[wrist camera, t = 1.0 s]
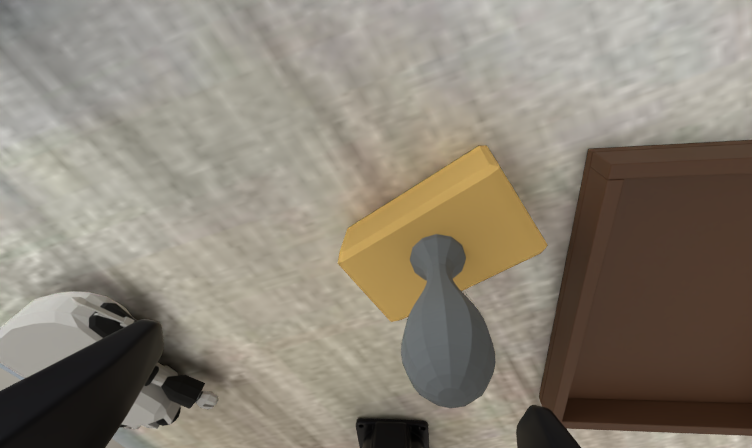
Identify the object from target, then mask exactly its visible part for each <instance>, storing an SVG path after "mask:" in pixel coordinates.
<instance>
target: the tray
mask: <svg viewBox="0 0 752 448" xmlns="http://www.w3.org/2000/svg"><path fill="white" fill-rule="evenodd" d="M539 398H540V401H541V404H542V407H546V408H549V409H550V410H551V411H552V412H553V413H554V414H555V415H556V417H557V418H558V419H559V420H560V422H561V423H562V424H563V425H564V427H565V428H569V429H595V430H620V431H645V432H670V433H696V434H721V435H746V436H752V140H743V141H725V142H706V143H688V144H669V145H651V146H633V147H614V148H596V149H588V154H587V159H586V164H585V169H584V174H583V179H582V184H581V189H580V194H579V199H578V204H577V209H576V214H575V219H574V224H573V229H572V234H571V239H570V244H569V249H568V254H567V259H566V264H565V269H564V274H563V279H562V284H561V289H560V294H559V299H558V304H557V309H556V314H555V319H554V324H553V329H552V334H551V339H550V344H549V349H548V354H547V359H546V364H545V369H544V375H543V380H542V385H541V390H540V395H539Z"/></svg>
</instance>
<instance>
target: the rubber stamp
mask: <svg viewBox="0 0 752 448" xmlns="http://www.w3.org/2000/svg"><path fill="white" fill-rule="evenodd" d="M547 246H548V245H547V243H546V242H545V240H544V238H543V237H542V235H541V233H540V232H539V230H538V228H537V227H536V225H535V223H534V222H533V220H532V219H531V217H530V215H529V214H528V212H527V210H526V209H525V207H524V205H523V204H522V202H521V200H520V199H519V197H518V196H517V194H516V192H515V191H514V189H513V187H512V186H511V184H510V182H509V181H508V179H507V178H506V176H505V174H504V173H503V171H502V169H501V168H500V166H499V164H498V163H497V161H496V160H495V158H494V156H493V155H492V153H491V152H490V150H489V148H488V147H487V145H485V146H478V147H476V148H475V149H473V150H471V151H470V152H468V153H467V154H465V155H464V156H462V157H460V158H459V159H457V160H456V161H454V162H452V163H451V164H449V165H448V166H446V167H444V168H443V169H441V170H440V171H438V172H436V173H435V174H433V175H432V176H430V177H429V178H427V179H425V180H424V181H422V182H421V183H419V184H417V185H416V186H414V187H413V188H411V189H409V190H408V191H406V192H405V193H403V194H402V195H400V196H398V197H397V198H395V199H394V200H392V201H390V202H389V203H387V204H386V205H384V206H382V207H381V208H379V209H378V210H376V211H375V212H373V213H371V214H370V215H368V216H367V217H365V218H363V219H362V220H360V221H359V222H357V223H355V224H354V225H352V226H351V227H349V228H348V229H347V232H346V235H345V238H344V241H343V244H342V246H341V249H340V253H339V259H338V264H339V265H340V266H341V268H342V269H343V270H344V271H345V272H346V273H347V274H348V275H349V276H350V277H351V279H352V280H353V281H354V282H355V283H356V284H357V285H358V286H359V287H360V288H361V290H362V291H363V292H364V293H365V294H366V295H367V296H368V297H369V298H370V299H371V301H372V302H373V303H374V304H375V305H376V306H377V307H378V308H379V309H380V310H381V312H382V313H383V314H384V315H385V316H386V317H387V318H388V319H389V320H390V321H391V322H393V321H398V320H402V319H404V318H406V317H408V316H409V317H408V319H407V323H406V327H405V331H404V335H403V340H402V344H401V356H402V362H403V366H404V368H405V370H406V373H407V375H408V377H409V379H410V381H411V383H412V385H413V387H414V388H415V389H416V391H417V392H418V393H419V394H420V395H421V396H423V397H424V398H426V399H428V400H429V401H431V402H432V403H434V404H436V405H438V406H442V407H448V408H456V407H463V406H466V405H467V404H469V403H471V402H472V401H474V400H475V399H477V398H479V397H480V396H482V394H483V393H484V391H485V390H486V388H487V386H488V384H489V382H490V379H491V377H492V375H493V372H494V367H495V351H494V347H493V343H492V340H491V337H490V334H489V331H488V328H487V325H486V323H485V321H484V319H483V317H482V315H481V314H480V312H479V311H478V309H477V308H476V307H475V306H474V305H473V303H472V302H471V301H470V300H469V299H468V298H467V297H466V296H465V295H464V294H463V293H462V292H461V291H463V290H465V289H467V288H469V287H471V286H473V285H475V284H477V283H479V282H481V281H484V280H486V279H488V278H490V277H492V276H494V275H496V274H498V273H500V272H502V271H504V270H507V269H509V268H511V267H513V266H515V265H517V264H519V263H521V262H523V261H525V260H527V259H530V258H532V257H534V256H536V255H538V254H540V253H541V252H542V251H543V250H544V249H545V248H546V247H547Z"/></svg>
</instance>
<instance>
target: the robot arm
mask: <svg viewBox="0 0 752 448" xmlns="http://www.w3.org/2000/svg"><path fill="white" fill-rule="evenodd" d="M163 349H164V342H163V334H162V327H161V324H160V323H159V322H157V321H152V320H148V319H141V320H138V321H136V322H134V323H132V324H130V325H128V326H126V327H124V328H122V329H120V330H118V331H116V332H114V333H112V334H110V335H108V336H106V337H105V338H103V339H101V340H99V341H97V342H95V343H93V344H91V345H89V346H87V347H85V348H83V349H81V350H79V351H77V352H75V353H73V354H72V355H70V356H68V357H66V358H64V359H62V360H60V361H58V362H56V363H54V364H52V365H50V366H48V367H46V368H44V369H42V370H40V371H38V372H37V373H35V374H33V375H31V376H29V377H27V378H25V379H23V380H21V381H19V382H17V383H15V384H13V385H12V386H10V387H8V388H6V389H4V390H2V391H0V448H105V447H106V446H107V444H108V443H109V441H110V440H111V439H112V437H113V436H114V434H115V433H116V431H117V430H118V428H119V427H120V425H121V424H122V422H123V421H124V419H125V418H126V416H127V415H128V413H129V411H130V410H131V408H132V406H133V404H134V403H135V401H136V399H137V397H138V396H139V394H140V392H141V390H142V389H143V387H144V385H145V383H146V381H147V380H148V378H149V376H150V374H151V373H152V371H153V369H154V367H155V366H156V364H157V362H158V360H159V359H160V357H161V355H162V352H163ZM356 430H357V435H358V440H359V446H360V448H429V433H428V423H427V422H425V421H415V420H389V419H363V418H360V419H357V421H356ZM516 435H517V446H518V448H581V447H580V446H579V444H578V443H577V442H576V441H575V439H574V438H573V437H572V436H571V434H570V433H569V432H568V431H567V429H566V428H565V427H564V425H563V424H562V423H561V422H560V420H559V419H558V418H557V417H556V415H555V414H554V413H553V412H552V411H551V410H550V409H549V408H546V407H542V406H537V405H531V406H530V407H529V408H528V409H527V411H526V412H525V414H524V415H523V417H522V418H521V420H520V421H519V423H518V425H517V431H516Z"/></svg>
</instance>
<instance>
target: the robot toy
mask: <svg viewBox="0 0 752 448" xmlns="http://www.w3.org/2000/svg"><path fill="white" fill-rule="evenodd" d="M136 321H137V320H136V319H135V318H133V317H132V316H131V315H130V313H129V311H128V310H127V309H126V308H125V307H124V306H123V305H121V304H120V303H118V302H115V301H113V300H112V299H111V298H109V297H107V296H103V295H99V294H94V293H90V292H62V293H55V294H52V295H48V296H44V297H40V298H36V299H34V300H33V301H32V302H31V303H29V304H28V305H27V306H26V307H24V308H23V309H22V310H21V311H20V312H18V313H17V314H16V315H15V316H13V317H12V318H11V319H10V320H9V321H8V322H7V323H5V324H4V325H3V326H2V327H1V328H0V363H1V364H3V365H4V366H6V367H8V368H9V369H11V370H12V371H14V372H16V373H17V374H19V375H20V376H22V377H24V378H27V377H29V376H31V375H33V374H35V373H37V372H38V371H40V370H42V369H44V368H46V367H48V366H50V365H52V364H54V363H56V362H58V361H60V360H62V359H64V358H66V357H68V356H70V355H72V354H73V353H75V352H77V351H79V350H81V349H83V348H85V347H87V346H89V345H91V344H93V343H95V342H97V341H99V340H101V339H103V338H105V337H106V336H108V335H110V334H112V333H114V332H116V331H118V330H120V329H122V328H124V327H126V326H128V325H130V324H132V323H134V322H136ZM204 384H205V383H203V382H201V381H198V380H196V379H194V378H192V377H189V376H187V375H179V376H178V373H177V372H176V371H175V370H173V369H172V368H170V367H169V366H163V365H161V364H159V363H158V362H157V364H156V366H155V367H154V369H153V371H152V373H151V374H150V376H149V378H148V380H147V381H146V383H145V385H144V387H143V389H142V390H141V392H140V394H139V396H138V397H137V399H136V401H135V403H134V404H133V406H132V408H131V410H130V411H129V413H128V415H127V416H126V418H125V419H124V421H123V422H122V424H121V425H120V427H123V428H125V429H132V428H133V429H138V428H139V427H141V426H144V427H147V428H156V429H157V428H158V426H159V425H162V426H164V425H170V424H171V423H173V422H174V421H175V420H176V419H177V418H178V417H179V414H180V409H181V407H180V406H181V405H182V406H184V407H187V408H191V407H192V406H193V404H194V403H195V402H196V403H197V404H198V406H199V407H200V408H204V409H211V408H213V407H214V405H216V404H217V402H218V396H217V395H216V394H214V393H213V392H210V391H202V389H203V386H204Z"/></svg>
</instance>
